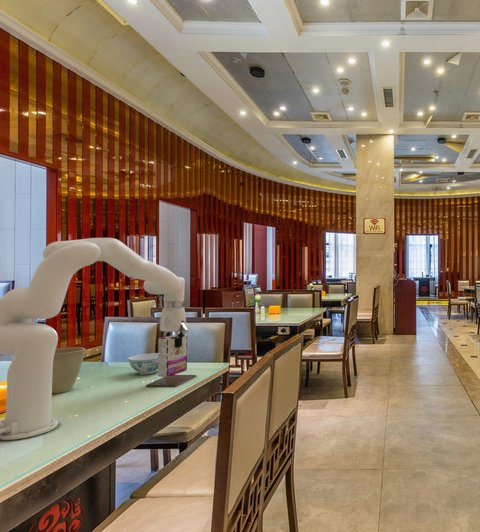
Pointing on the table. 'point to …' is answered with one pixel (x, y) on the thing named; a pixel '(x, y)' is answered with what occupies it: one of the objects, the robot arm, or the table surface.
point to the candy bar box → (171, 356)
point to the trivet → (171, 381)
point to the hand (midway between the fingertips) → (173, 346)
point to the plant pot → (66, 368)
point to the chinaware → (144, 363)
